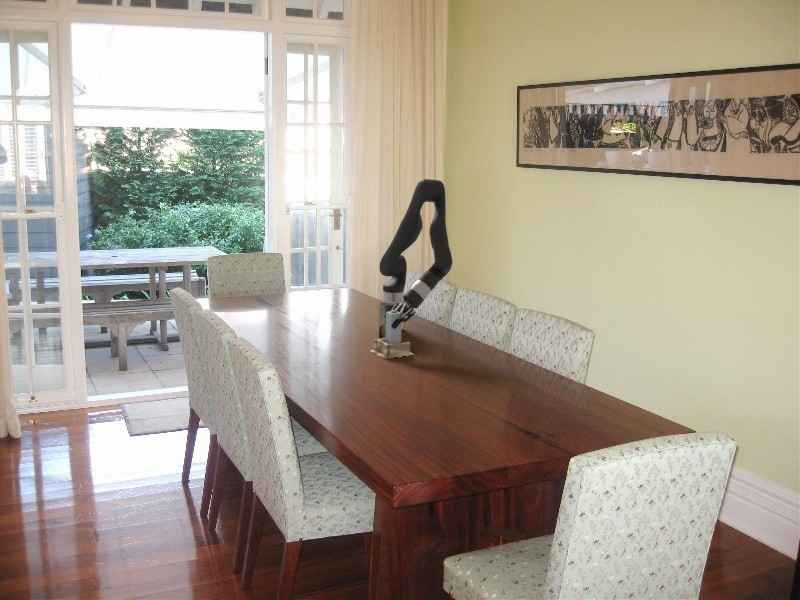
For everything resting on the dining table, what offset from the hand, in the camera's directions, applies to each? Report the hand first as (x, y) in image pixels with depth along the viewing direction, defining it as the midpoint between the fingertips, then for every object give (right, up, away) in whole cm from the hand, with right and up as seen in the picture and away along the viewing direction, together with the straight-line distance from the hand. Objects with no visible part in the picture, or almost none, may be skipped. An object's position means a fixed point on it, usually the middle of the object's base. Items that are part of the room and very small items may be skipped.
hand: (389, 326), depth 347 cm
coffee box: (0, -7, +24) cm, 25 cm away
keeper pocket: (+1, -11, +3) cm, 11 cm away
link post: (+1, -8, +2) cm, 9 cm away
